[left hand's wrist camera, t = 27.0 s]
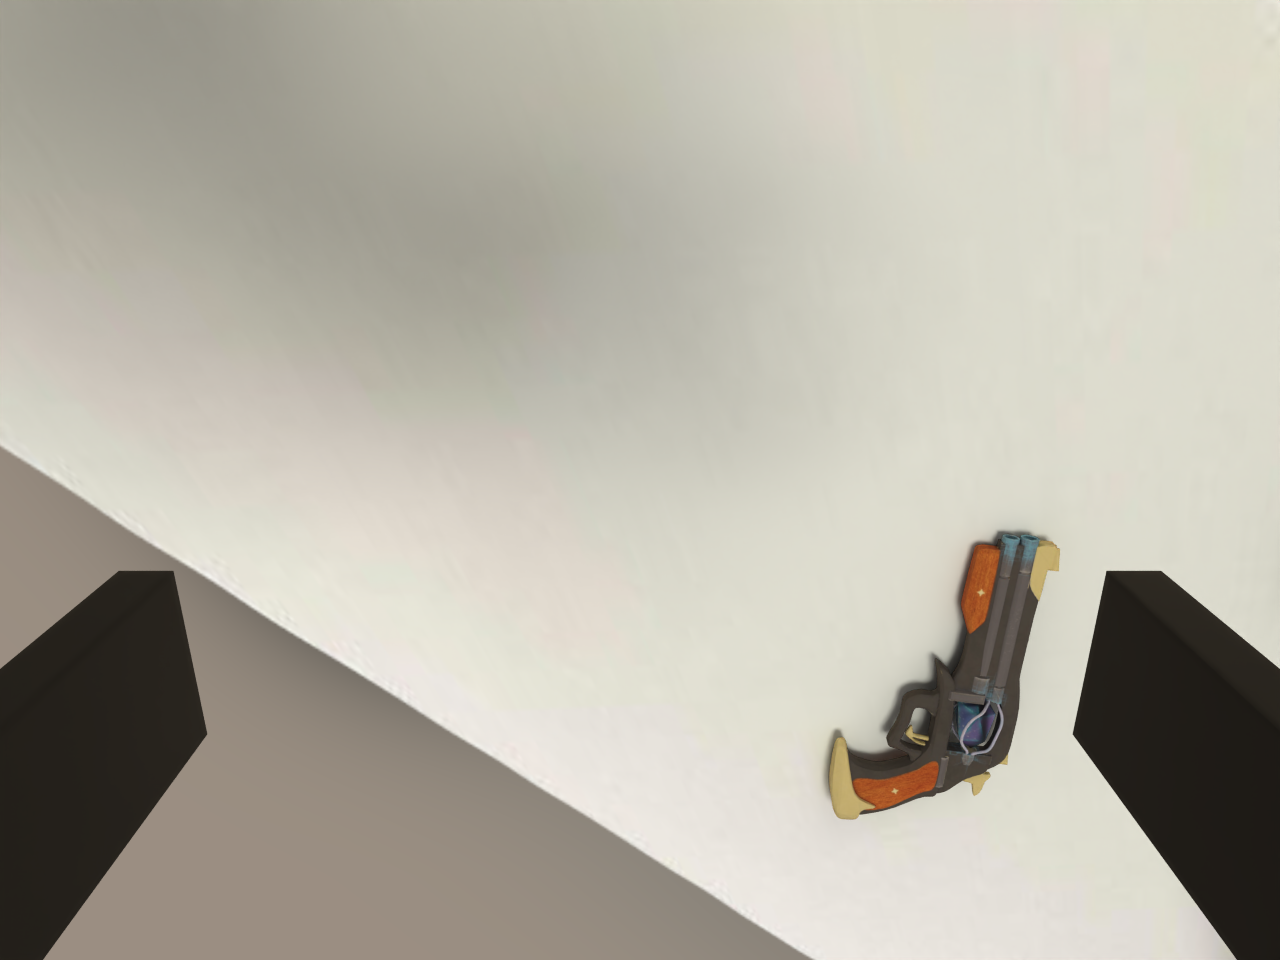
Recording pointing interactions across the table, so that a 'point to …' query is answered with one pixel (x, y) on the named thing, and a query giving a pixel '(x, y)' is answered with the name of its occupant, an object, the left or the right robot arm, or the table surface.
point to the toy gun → (959, 690)
